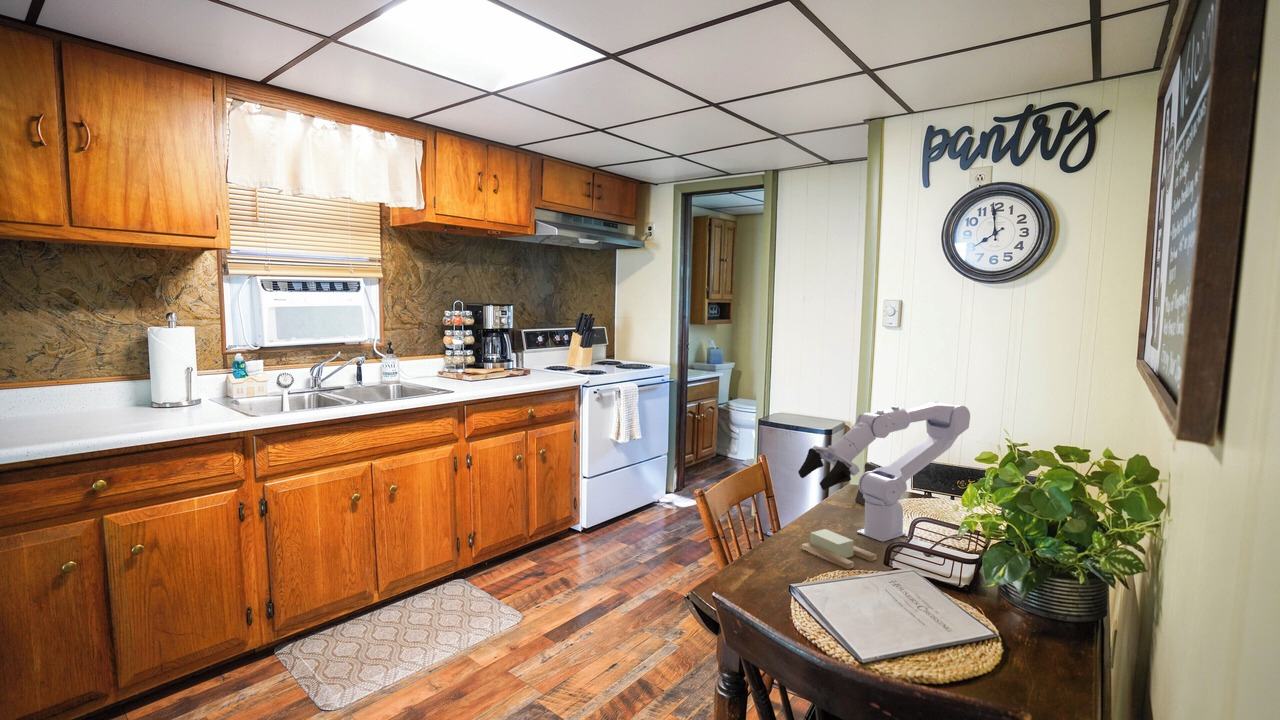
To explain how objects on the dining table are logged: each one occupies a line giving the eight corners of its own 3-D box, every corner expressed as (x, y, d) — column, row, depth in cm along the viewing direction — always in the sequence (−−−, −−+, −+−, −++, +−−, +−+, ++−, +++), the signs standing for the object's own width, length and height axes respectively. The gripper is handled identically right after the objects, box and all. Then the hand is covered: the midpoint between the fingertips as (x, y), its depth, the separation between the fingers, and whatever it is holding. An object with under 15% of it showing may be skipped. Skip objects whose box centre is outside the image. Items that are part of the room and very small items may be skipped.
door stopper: (866, 507, 178) (866, 467, 177) (855, 501, 183) (855, 462, 183) (893, 505, 179) (893, 465, 178) (881, 499, 185) (881, 461, 184)
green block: (825, 544, 150) (825, 528, 150) (853, 556, 142) (853, 540, 142) (810, 548, 147) (810, 532, 147) (838, 561, 140) (838, 544, 139)
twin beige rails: (829, 540, 151) (829, 536, 151) (876, 559, 139) (876, 554, 139) (801, 549, 146) (801, 544, 146) (847, 569, 134) (847, 563, 134)
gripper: (823, 426, 155) (785, 458, 151) (866, 444, 142) (826, 480, 139) (831, 446, 158) (795, 478, 154) (874, 466, 145) (836, 501, 141)
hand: (810, 480), depth 146 cm, fingers open, 7 cm apart
